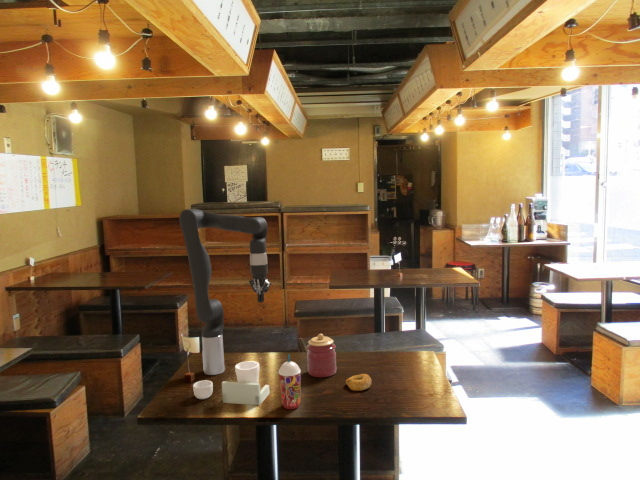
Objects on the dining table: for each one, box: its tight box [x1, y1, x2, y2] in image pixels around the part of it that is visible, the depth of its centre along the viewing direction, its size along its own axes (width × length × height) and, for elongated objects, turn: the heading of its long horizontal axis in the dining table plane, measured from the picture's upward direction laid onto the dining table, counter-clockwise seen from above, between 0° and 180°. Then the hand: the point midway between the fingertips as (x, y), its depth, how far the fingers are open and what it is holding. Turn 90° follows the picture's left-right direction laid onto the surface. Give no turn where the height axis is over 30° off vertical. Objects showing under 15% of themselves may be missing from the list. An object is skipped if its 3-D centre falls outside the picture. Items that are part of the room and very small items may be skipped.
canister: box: [306, 333, 337, 378], centre depth 216 cm, size 13×13×18 cm
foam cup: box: [234, 360, 261, 383], centre depth 193 cm, size 10×9×13 cm
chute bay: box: [221, 380, 271, 406], centre depth 193 cm, size 11×15×8 cm
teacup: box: [192, 379, 214, 400], centre depth 197 cm, size 10×8×5 cm
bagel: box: [345, 373, 372, 392], centre depth 200 cm, size 10×11×5 cm
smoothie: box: [278, 354, 302, 410], centre depth 183 cm, size 8×8×20 cm
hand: (261, 302), depth 214 cm, fingers closed
